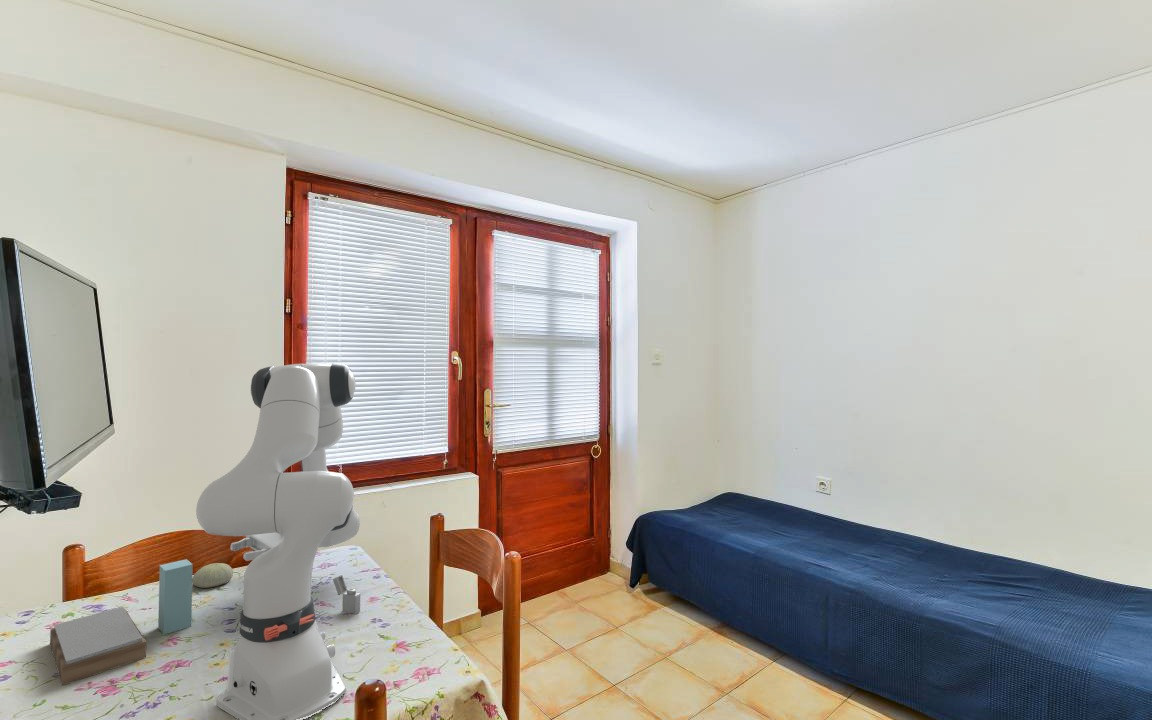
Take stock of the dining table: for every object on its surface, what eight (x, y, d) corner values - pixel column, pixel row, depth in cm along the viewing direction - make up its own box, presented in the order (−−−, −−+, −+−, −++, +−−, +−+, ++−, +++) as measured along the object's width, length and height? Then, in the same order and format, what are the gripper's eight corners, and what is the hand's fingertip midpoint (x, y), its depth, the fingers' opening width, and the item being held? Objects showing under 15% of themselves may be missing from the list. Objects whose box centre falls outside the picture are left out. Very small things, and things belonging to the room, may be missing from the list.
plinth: (145, 657, 103) (146, 637, 103) (61, 685, 93) (62, 663, 93) (124, 622, 117) (125, 605, 117) (49, 644, 107) (50, 625, 107)
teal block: (191, 626, 115) (192, 564, 116) (163, 634, 111) (165, 570, 112) (185, 619, 118) (186, 559, 119) (158, 627, 115) (159, 565, 115)
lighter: (360, 611, 123) (361, 578, 123) (355, 614, 121) (355, 580, 121) (337, 606, 125) (338, 574, 125) (332, 609, 124) (332, 576, 124)
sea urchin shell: (200, 586, 132) (193, 560, 136) (192, 602, 135) (186, 576, 139) (240, 575, 139) (232, 550, 143) (231, 590, 143) (224, 565, 146)
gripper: (282, 518, 142) (224, 530, 132) (313, 534, 129) (252, 549, 119) (281, 540, 142) (224, 554, 132) (313, 559, 129) (252, 576, 118)
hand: (237, 552), depth 125 cm, fingers open, 8 cm apart
